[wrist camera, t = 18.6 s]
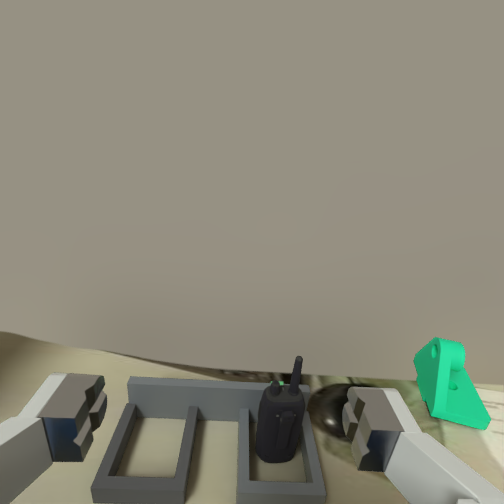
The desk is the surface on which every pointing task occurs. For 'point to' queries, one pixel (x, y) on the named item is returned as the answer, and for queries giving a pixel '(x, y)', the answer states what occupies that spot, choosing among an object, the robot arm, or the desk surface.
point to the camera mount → (449, 384)
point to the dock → (244, 411)
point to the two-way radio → (280, 419)
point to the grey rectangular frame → (142, 488)
